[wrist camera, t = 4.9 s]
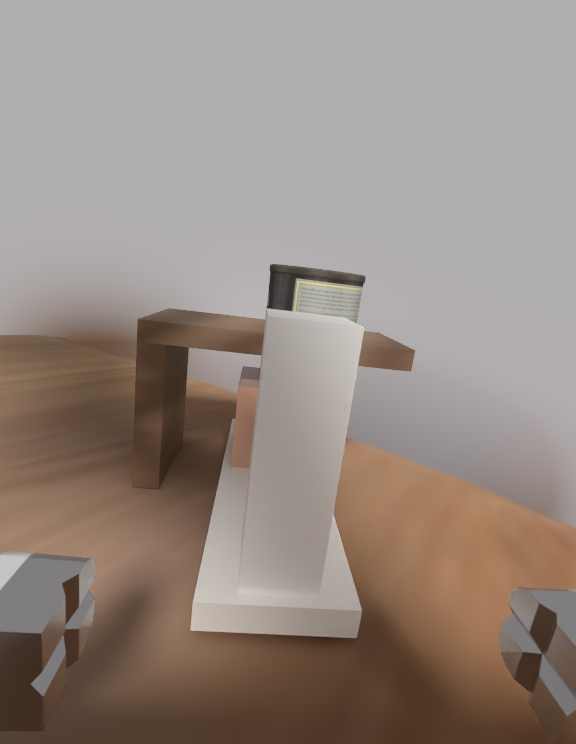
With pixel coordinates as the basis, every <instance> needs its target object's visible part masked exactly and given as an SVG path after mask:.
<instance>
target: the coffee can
mask: <svg viewBox="0 0 576 744" xmlns="http://www.w3.org/2000/svg"><path fill="white" fill-rule="evenodd" d="M270 272H271V273H270V283H269V293H268V302H267V308H268V309H277V310H285V311H293V312H302V313H310V314H318V315H327V316H335V317H344V318H347V319H349V320H351V321H352V322H354V323H356V324H357V318H358V312H359V305H360V299H361V294H362V287H363V283H364V282H365V276H363V275H357V274H352V273H344V272H337V271H330V270H322V269H313V268H306V267H297V266H287V265H277V264H272V265H270ZM266 313H267V311H266ZM261 358H262V357H261Z"/></svg>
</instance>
